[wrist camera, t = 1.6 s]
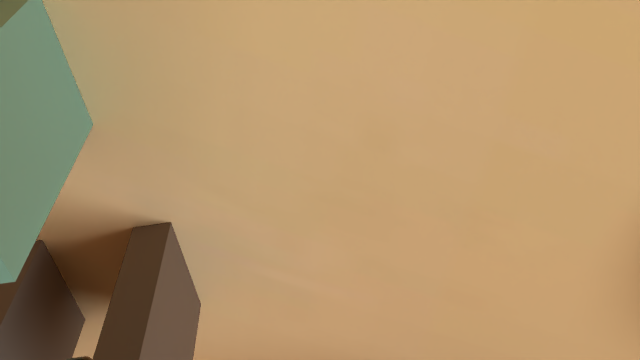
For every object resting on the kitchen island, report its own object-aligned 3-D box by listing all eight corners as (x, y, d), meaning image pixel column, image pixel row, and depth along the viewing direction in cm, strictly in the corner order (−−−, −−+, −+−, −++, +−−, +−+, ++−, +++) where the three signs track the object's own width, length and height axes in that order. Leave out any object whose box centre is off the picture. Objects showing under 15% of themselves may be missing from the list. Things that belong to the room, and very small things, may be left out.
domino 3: (200, 304, 28) (175, 481, 21) (167, 308, 28) (130, 486, 21) (170, 222, 25) (130, 397, 18) (133, 227, 25) (78, 404, 18)
